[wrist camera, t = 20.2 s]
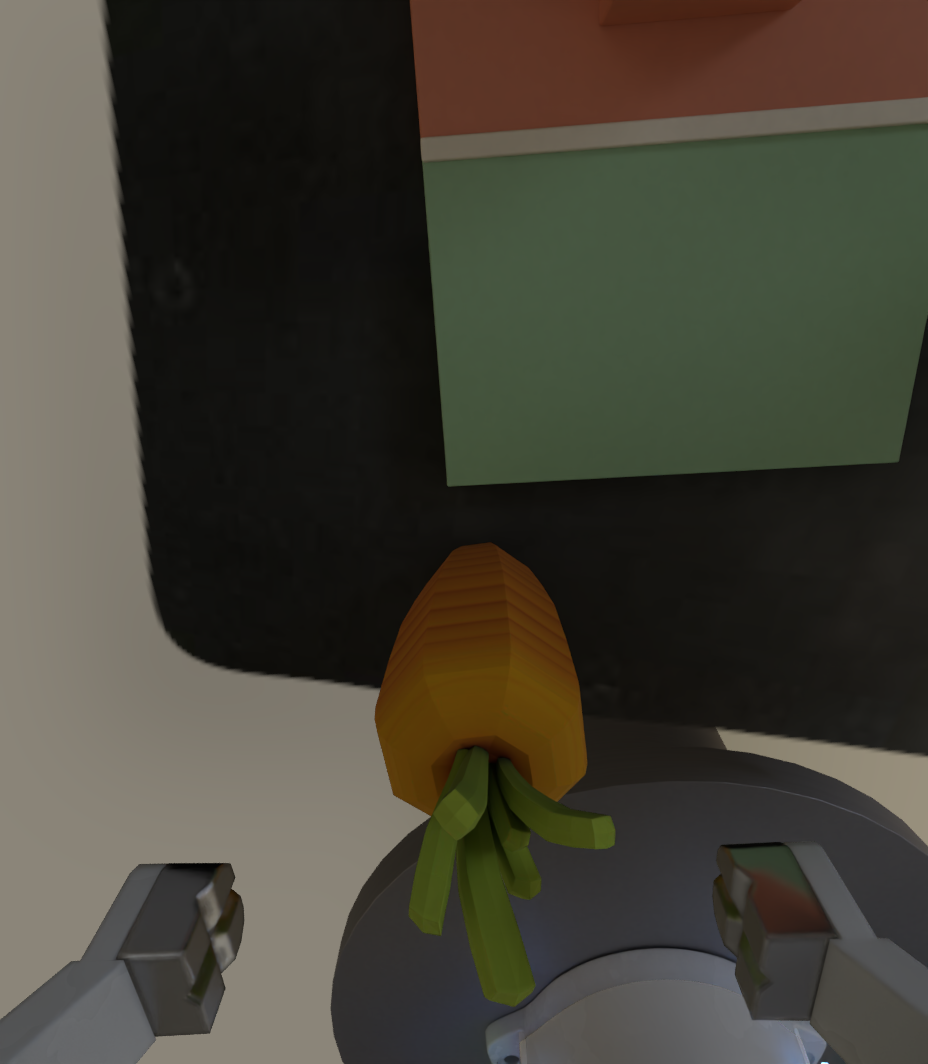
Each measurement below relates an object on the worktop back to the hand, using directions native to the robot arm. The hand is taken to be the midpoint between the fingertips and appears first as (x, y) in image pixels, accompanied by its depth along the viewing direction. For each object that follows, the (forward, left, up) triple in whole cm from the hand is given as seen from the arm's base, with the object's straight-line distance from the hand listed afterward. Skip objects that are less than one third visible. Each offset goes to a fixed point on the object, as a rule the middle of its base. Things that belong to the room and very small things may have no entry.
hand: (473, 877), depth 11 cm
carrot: (0, 0, -14) cm, 14 cm away
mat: (+13, -7, -14) cm, 20 cm away
